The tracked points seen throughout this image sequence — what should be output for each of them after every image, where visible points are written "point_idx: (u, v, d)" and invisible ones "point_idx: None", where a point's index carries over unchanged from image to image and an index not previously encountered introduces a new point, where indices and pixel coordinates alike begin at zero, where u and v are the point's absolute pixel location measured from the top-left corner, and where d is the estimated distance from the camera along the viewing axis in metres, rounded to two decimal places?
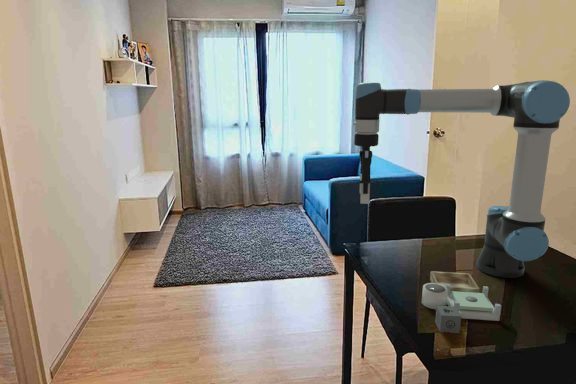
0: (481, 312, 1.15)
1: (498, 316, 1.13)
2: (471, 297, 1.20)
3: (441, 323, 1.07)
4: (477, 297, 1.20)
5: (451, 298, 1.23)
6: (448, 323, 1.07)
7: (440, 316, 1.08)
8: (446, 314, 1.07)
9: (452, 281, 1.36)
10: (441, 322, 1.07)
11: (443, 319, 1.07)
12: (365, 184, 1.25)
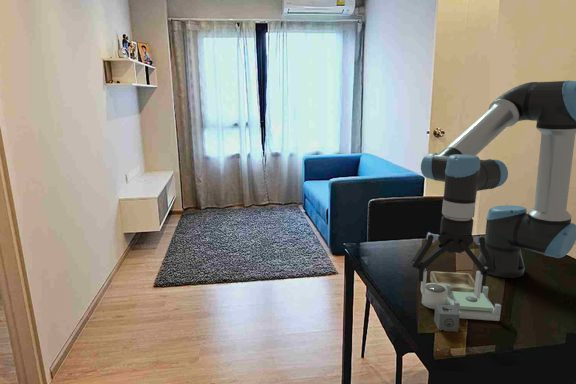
0: (481, 312, 1.15)
1: (498, 316, 1.13)
2: (471, 297, 1.20)
3: (440, 321, 1.08)
4: None
5: (451, 298, 1.23)
6: (447, 321, 1.08)
7: (439, 314, 1.08)
8: (445, 312, 1.08)
9: (452, 281, 1.36)
10: (440, 320, 1.08)
11: (442, 317, 1.08)
12: (418, 269, 1.07)
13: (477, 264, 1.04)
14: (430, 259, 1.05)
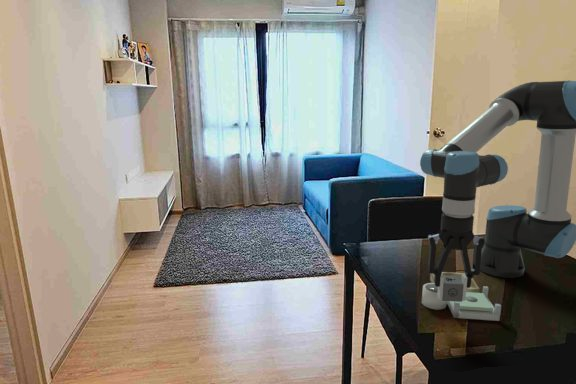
0: (481, 312, 1.15)
1: (498, 316, 1.13)
2: (471, 297, 1.20)
3: (443, 291, 1.07)
4: (477, 297, 1.20)
5: None
6: (450, 291, 1.07)
7: None
8: (448, 282, 1.07)
9: None
10: (443, 290, 1.07)
11: (445, 287, 1.07)
12: None
13: (466, 265, 1.04)
14: (441, 262, 1.05)
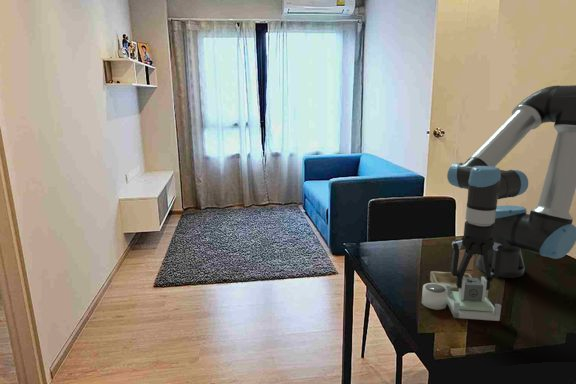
0: (481, 312, 1.15)
1: (498, 316, 1.13)
2: None
3: (464, 292, 1.18)
4: None
5: (451, 298, 1.23)
6: (471, 292, 1.17)
7: None
8: (469, 283, 1.17)
9: (452, 281, 1.36)
10: (464, 291, 1.18)
11: (466, 288, 1.17)
12: (457, 277, 1.18)
13: (486, 269, 1.15)
14: (464, 266, 1.16)
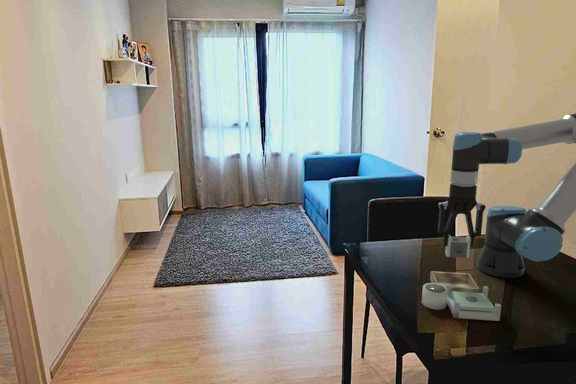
0: (481, 312, 1.15)
1: (498, 316, 1.13)
2: (471, 297, 1.20)
3: (450, 249, 1.28)
4: (477, 297, 1.20)
5: (451, 298, 1.23)
6: (456, 249, 1.28)
7: None
8: (455, 241, 1.28)
9: (452, 281, 1.36)
10: (450, 248, 1.28)
11: (452, 245, 1.28)
12: (443, 236, 1.28)
13: (470, 227, 1.25)
14: (449, 225, 1.26)
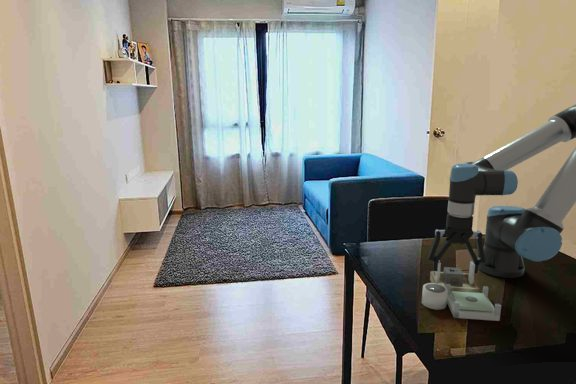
0: (481, 312, 1.15)
1: (498, 316, 1.13)
2: (471, 297, 1.20)
3: (447, 280, 1.31)
4: (477, 297, 1.20)
5: (451, 298, 1.23)
6: (453, 280, 1.30)
7: (446, 274, 1.31)
8: (451, 272, 1.30)
9: None
10: (447, 279, 1.31)
11: (448, 276, 1.30)
12: (433, 261, 1.31)
13: (472, 255, 1.27)
14: (441, 252, 1.29)
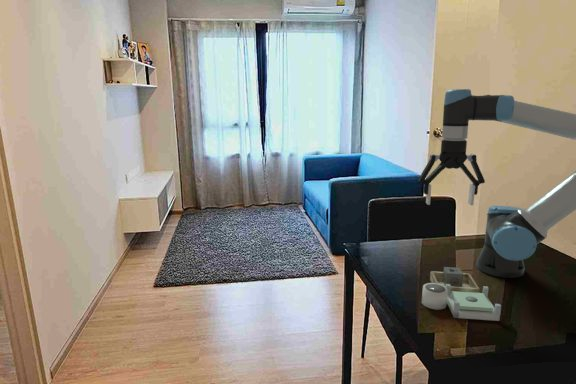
0: (481, 312, 1.15)
1: (498, 316, 1.13)
2: (471, 297, 1.20)
3: (447, 280, 1.31)
4: (477, 297, 1.20)
5: (451, 298, 1.23)
6: (452, 280, 1.31)
7: (446, 274, 1.31)
8: (451, 272, 1.31)
9: None
10: (447, 279, 1.31)
11: (448, 276, 1.30)
12: (424, 184, 1.34)
13: (470, 177, 1.31)
14: (433, 175, 1.32)
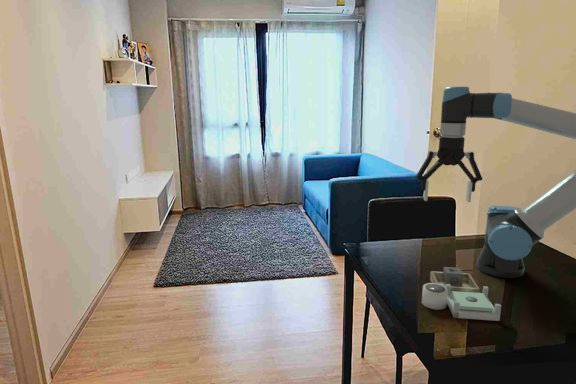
0: (481, 312, 1.15)
1: (498, 316, 1.13)
2: (471, 297, 1.20)
3: (446, 279, 1.31)
4: (477, 297, 1.20)
5: (451, 298, 1.23)
6: (452, 280, 1.31)
7: (446, 274, 1.31)
8: (451, 272, 1.31)
9: None
10: (446, 279, 1.31)
11: (448, 276, 1.31)
12: None
13: (468, 174, 1.32)
14: (431, 171, 1.33)
